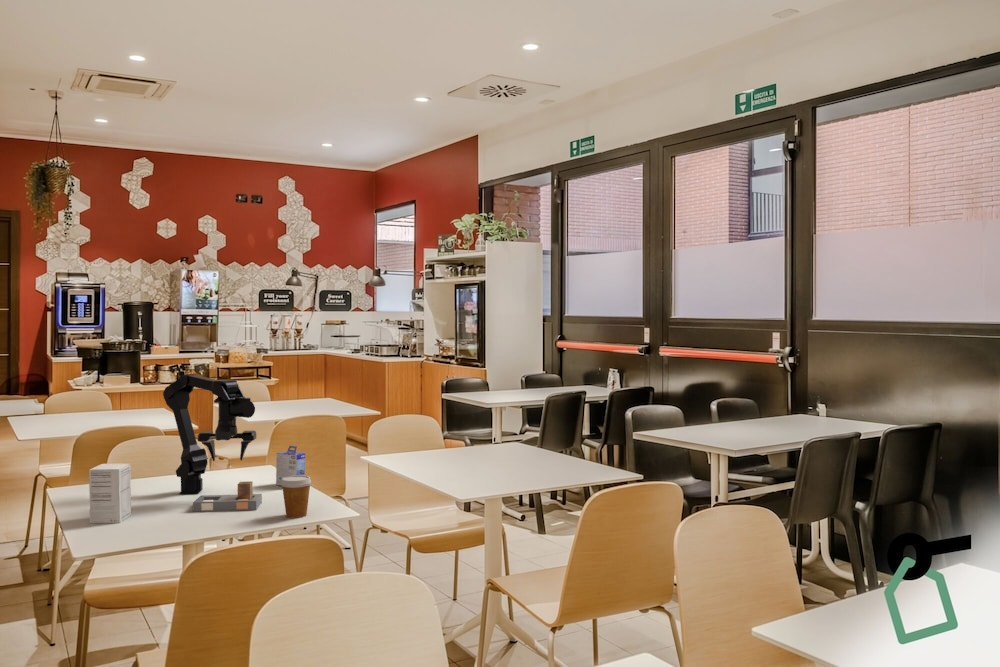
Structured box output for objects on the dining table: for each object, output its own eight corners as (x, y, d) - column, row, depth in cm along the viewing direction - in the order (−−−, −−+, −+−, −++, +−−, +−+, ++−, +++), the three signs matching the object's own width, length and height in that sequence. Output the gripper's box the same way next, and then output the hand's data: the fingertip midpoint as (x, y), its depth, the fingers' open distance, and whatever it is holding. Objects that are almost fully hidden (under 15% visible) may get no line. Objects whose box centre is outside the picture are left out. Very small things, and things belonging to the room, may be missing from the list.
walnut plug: (237, 508, 267) (237, 484, 267) (240, 505, 271) (240, 481, 271) (250, 508, 268) (249, 483, 267) (252, 505, 272) (252, 481, 271)
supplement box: (102, 515, 257) (101, 463, 257) (132, 515, 258) (131, 462, 258) (89, 523, 248) (88, 469, 247) (120, 523, 249) (119, 468, 248)
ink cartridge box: (306, 485, 303) (306, 446, 302) (296, 487, 298) (296, 448, 297) (285, 482, 307) (285, 444, 307) (275, 485, 302) (275, 446, 302)
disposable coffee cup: (299, 510, 264) (299, 473, 264) (317, 515, 258) (317, 477, 258) (274, 516, 257) (274, 478, 257) (293, 521, 251) (292, 482, 251)
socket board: (192, 511, 262) (192, 502, 262) (200, 504, 273) (200, 494, 272) (256, 510, 265) (256, 500, 265) (261, 502, 275) (261, 493, 275)
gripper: (193, 419, 272) (193, 465, 273) (250, 418, 274) (250, 464, 275) (201, 415, 283) (202, 459, 284) (256, 414, 286) (256, 458, 286)
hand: (227, 460), depth 282 cm, fingers open, 9 cm apart
